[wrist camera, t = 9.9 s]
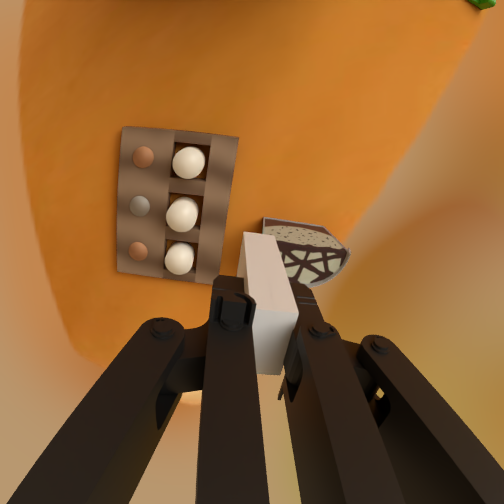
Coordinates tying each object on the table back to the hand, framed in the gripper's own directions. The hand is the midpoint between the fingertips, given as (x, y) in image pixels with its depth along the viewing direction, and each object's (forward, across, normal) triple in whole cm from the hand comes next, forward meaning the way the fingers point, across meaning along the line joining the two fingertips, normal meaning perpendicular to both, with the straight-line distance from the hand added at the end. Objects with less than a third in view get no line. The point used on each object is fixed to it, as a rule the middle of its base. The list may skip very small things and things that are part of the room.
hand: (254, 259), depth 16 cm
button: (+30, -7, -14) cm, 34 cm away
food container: (+31, +9, -10) cm, 33 cm away
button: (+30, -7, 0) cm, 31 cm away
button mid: (+29, -7, -7) cm, 30 cm away
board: (+30, -9, -7) cm, 32 cm away
